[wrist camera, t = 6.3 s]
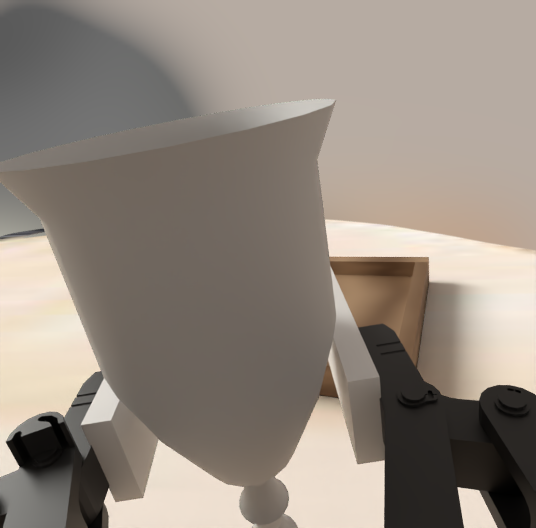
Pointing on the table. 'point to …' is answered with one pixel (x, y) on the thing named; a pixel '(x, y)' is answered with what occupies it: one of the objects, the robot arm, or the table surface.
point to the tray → (383, 298)
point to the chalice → (201, 279)
